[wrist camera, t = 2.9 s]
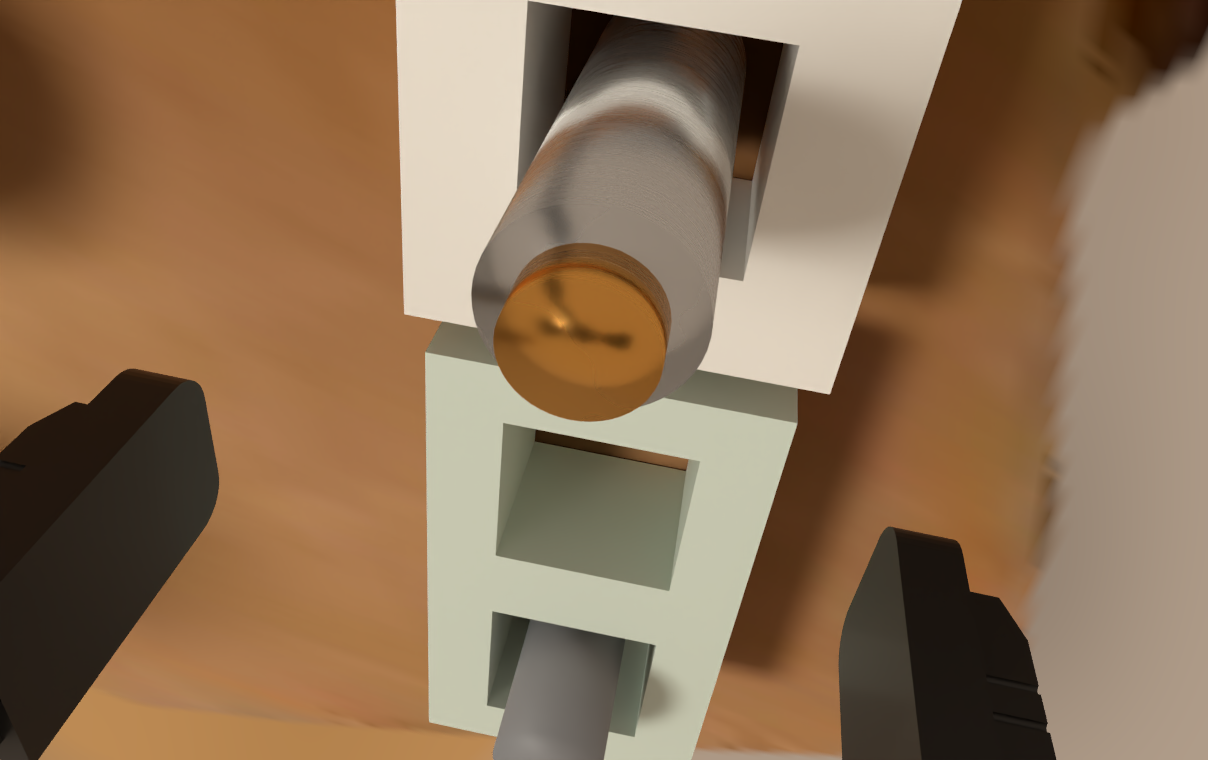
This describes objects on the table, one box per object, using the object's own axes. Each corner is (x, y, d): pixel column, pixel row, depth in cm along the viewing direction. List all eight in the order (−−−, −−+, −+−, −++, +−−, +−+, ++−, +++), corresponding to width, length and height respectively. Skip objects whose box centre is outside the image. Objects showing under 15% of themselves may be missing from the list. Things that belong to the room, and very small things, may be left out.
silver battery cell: (605, -24, 21) (452, 216, 12) (760, 1, 21) (730, 265, 12) (589, 125, 24) (450, 427, 14) (730, 150, 23) (684, 473, 14)
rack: (481, 250, 26) (381, 432, 20) (797, 309, 26) (797, 514, 19) (469, 608, 36) (399, 804, 30) (697, 655, 36) (676, 866, 29)
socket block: (473, -207, 20) (390, -178, 16) (950, -135, 19) (990, -86, 15) (464, 216, 26) (403, 314, 22) (824, 281, 25) (830, 394, 21)
